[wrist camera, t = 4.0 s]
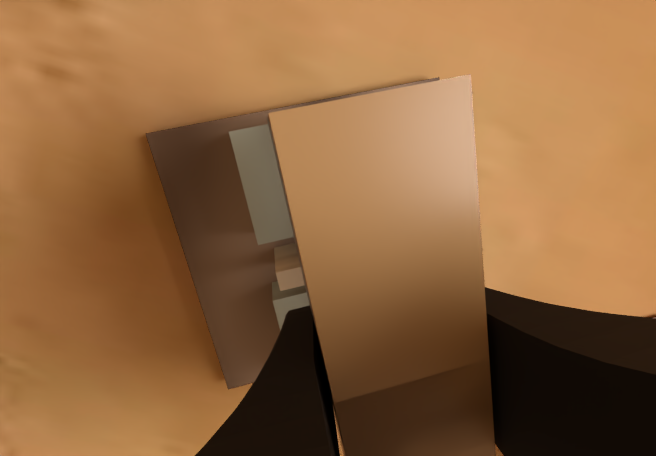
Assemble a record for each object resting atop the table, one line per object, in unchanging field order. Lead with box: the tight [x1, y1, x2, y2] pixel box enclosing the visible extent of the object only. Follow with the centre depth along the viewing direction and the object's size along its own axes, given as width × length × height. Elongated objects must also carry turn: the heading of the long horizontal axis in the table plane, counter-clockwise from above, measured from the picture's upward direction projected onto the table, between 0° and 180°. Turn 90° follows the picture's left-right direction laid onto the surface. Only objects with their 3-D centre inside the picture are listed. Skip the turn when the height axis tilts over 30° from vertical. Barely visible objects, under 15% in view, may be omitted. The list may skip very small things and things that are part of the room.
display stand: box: [146, 78, 439, 389], centre depth 16 cm, size 13×13×4 cm
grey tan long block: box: [267, 74, 496, 456], centre depth 9 cm, size 3×12×5 cm, turn 11°
